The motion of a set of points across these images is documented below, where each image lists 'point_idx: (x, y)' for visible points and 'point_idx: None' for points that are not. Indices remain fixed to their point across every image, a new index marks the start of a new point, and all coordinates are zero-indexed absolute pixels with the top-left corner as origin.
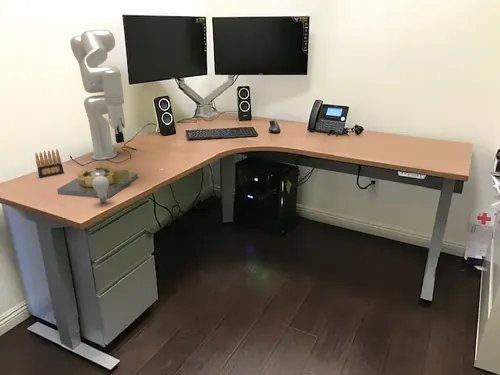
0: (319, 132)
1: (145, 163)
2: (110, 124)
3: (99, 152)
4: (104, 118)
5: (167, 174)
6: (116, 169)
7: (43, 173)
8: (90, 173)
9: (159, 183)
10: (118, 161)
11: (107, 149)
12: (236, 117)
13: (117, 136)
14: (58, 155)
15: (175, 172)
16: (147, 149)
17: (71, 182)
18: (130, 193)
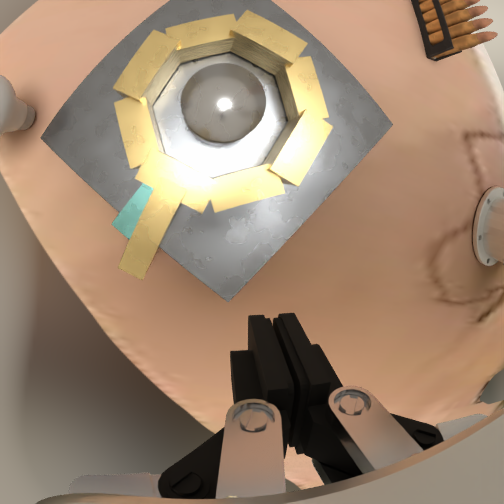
0: None
1: (369, 341)
2: (456, 474)
3: (500, 212)
4: None
5: (203, 389)
6: (156, 205)
7: (422, 2)
8: (227, 64)
9: (119, 346)
10: (443, 256)
11: (500, 242)
12: None
13: (261, 381)
14: (475, 37)
15: (211, 410)
16: (459, 350)
17: (274, 13)
18: (59, 225)
